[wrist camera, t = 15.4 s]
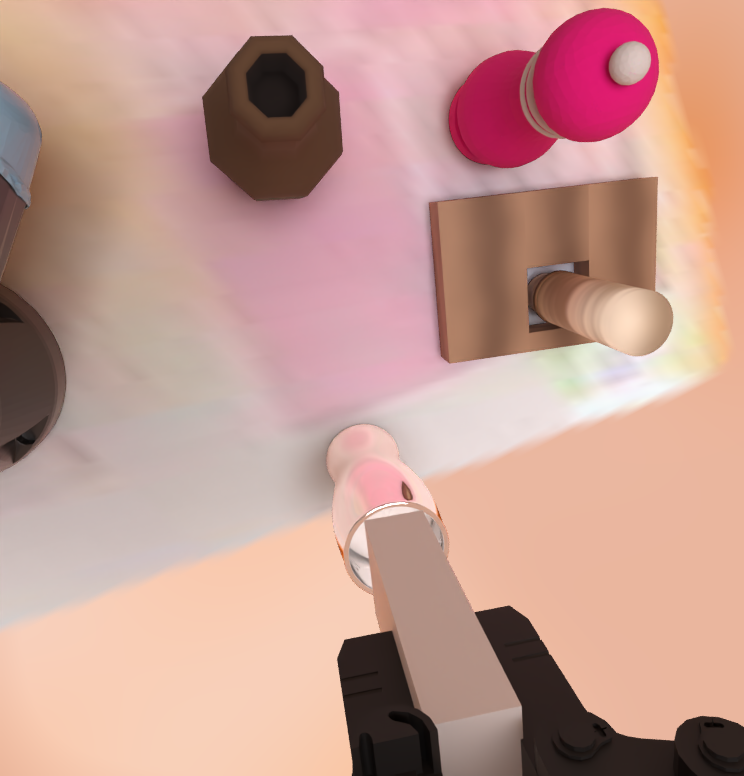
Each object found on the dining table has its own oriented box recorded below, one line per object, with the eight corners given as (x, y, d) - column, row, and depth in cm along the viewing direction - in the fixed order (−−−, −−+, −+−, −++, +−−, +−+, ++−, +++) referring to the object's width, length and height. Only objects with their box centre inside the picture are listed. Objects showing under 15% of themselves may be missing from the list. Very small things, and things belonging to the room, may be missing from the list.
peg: (521, 321, 51) (609, 361, 38) (519, 271, 50) (610, 293, 37) (569, 314, 52) (672, 351, 38) (568, 264, 51) (674, 285, 37)
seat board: (441, 356, 51) (449, 363, 49) (429, 202, 48) (437, 202, 45) (637, 327, 53) (654, 333, 51) (639, 178, 50) (657, 176, 47)
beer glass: (367, 511, 54) (402, 620, 40) (303, 466, 52) (316, 564, 38) (420, 450, 53) (475, 539, 39) (357, 401, 51) (391, 477, 37)
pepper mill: (514, 48, 46) (690, -67, 27) (549, 144, 48) (734, 102, 29) (425, 93, 45) (538, 12, 26) (465, 188, 48) (594, 175, 29)
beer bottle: (195, 118, 44) (114, 20, 21) (296, 67, 44) (325, -86, 21) (251, 222, 46) (233, 237, 23) (345, 174, 46) (420, 142, 23)
